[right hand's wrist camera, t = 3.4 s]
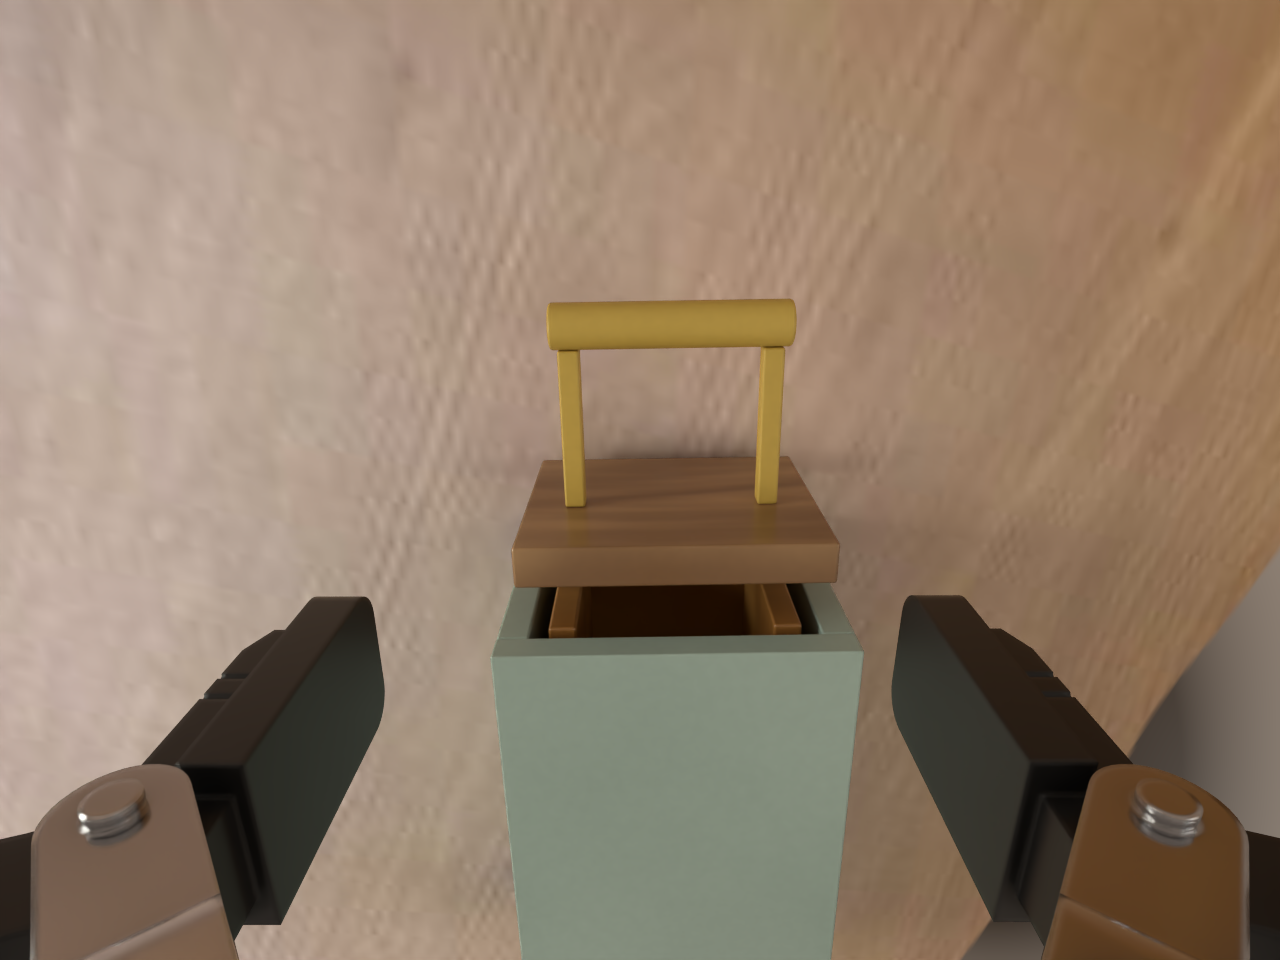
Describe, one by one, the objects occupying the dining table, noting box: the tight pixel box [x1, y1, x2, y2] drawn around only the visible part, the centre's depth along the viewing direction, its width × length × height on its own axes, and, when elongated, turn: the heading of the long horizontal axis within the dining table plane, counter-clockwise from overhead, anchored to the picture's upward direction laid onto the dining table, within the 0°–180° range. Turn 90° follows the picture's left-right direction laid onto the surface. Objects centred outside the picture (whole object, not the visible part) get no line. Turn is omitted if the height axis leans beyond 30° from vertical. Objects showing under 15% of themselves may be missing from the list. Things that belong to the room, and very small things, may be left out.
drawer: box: [511, 299, 840, 639], centre depth 25 cm, size 26×9×7 cm, turn 1°
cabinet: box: [491, 583, 864, 960], centre depth 28 cm, size 21×10×9 cm, turn 1°
